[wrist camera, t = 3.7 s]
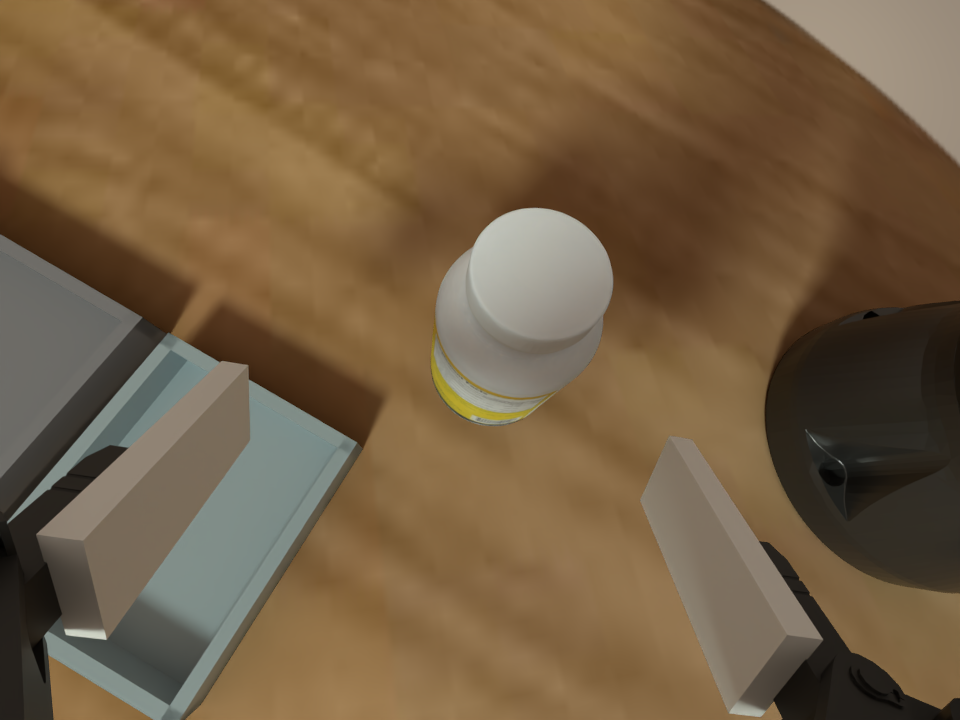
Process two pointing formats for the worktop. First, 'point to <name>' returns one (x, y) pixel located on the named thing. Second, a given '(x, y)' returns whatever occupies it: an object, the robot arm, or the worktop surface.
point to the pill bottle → (519, 315)
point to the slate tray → (204, 538)
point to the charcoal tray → (56, 365)
